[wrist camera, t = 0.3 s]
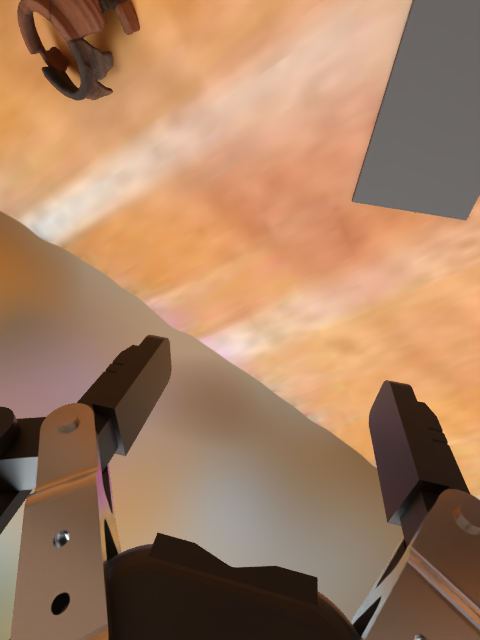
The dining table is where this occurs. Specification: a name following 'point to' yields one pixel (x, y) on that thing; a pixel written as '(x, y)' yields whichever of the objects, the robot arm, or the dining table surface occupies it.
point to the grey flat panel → (429, 116)
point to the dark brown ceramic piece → (75, 40)
